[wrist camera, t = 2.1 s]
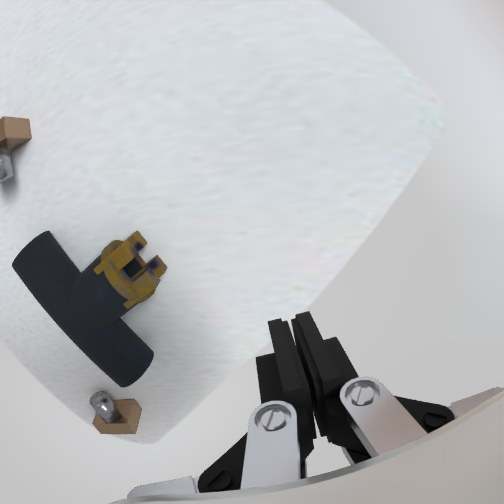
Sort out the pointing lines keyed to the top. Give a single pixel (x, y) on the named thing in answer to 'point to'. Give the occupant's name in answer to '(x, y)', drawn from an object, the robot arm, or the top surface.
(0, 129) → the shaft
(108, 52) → the top surface
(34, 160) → the top surface
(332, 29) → the top surface
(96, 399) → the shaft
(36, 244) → the pipe connector
